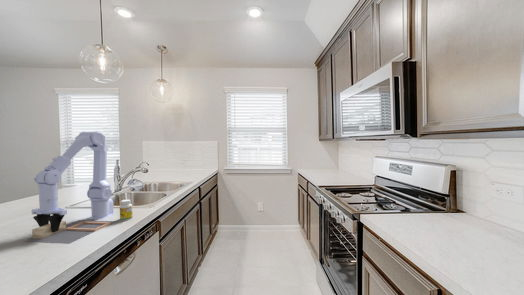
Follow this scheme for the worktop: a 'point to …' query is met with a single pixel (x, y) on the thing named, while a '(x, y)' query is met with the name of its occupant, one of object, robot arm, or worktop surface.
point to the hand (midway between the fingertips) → (50, 231)
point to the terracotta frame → (88, 228)
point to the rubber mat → (69, 233)
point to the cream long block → (46, 230)
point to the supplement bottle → (126, 210)
